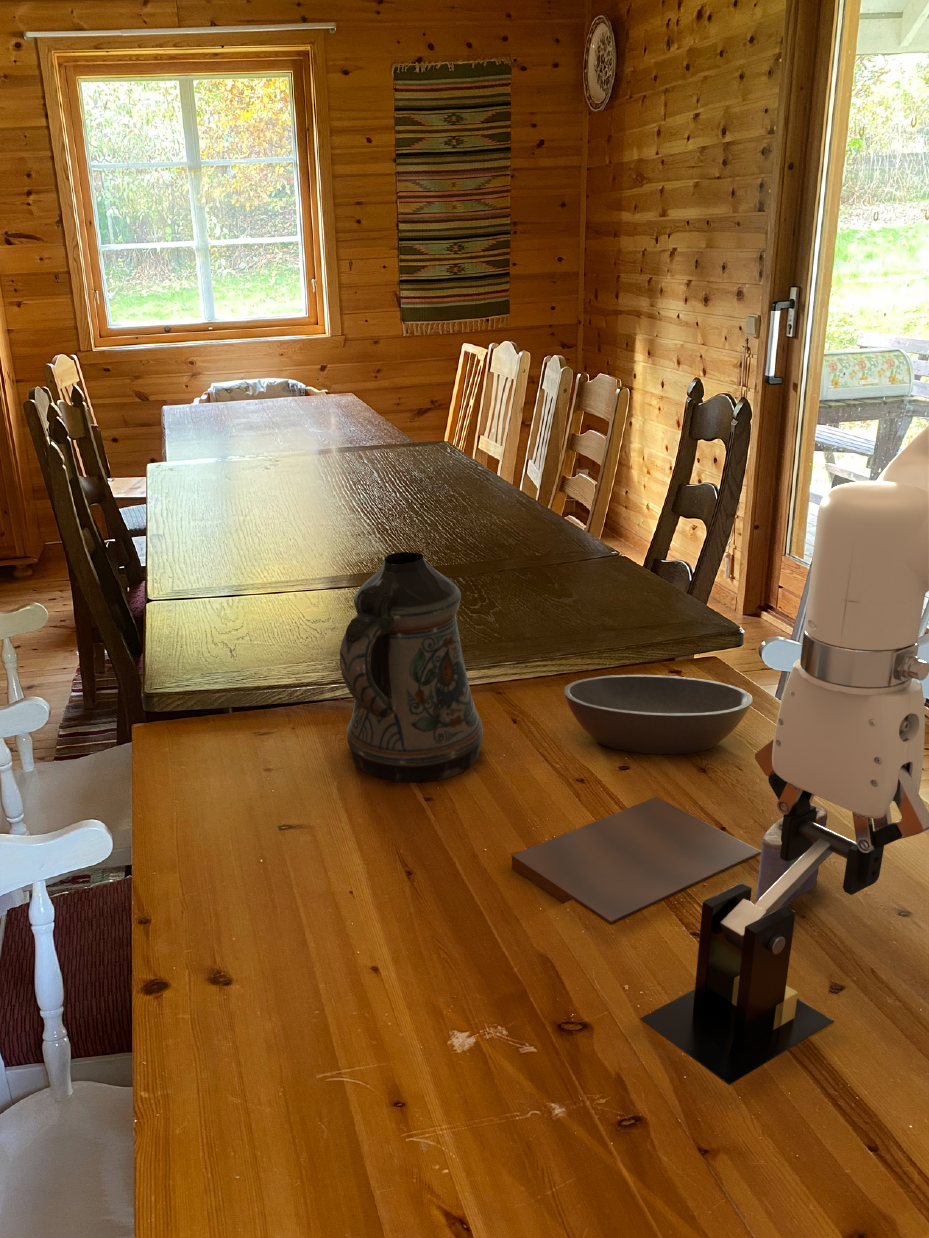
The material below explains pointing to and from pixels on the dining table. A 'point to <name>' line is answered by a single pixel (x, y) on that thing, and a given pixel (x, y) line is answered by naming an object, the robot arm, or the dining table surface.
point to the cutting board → (631, 859)
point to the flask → (781, 861)
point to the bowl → (657, 712)
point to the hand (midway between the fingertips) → (826, 869)
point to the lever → (786, 880)
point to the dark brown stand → (707, 1014)
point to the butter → (787, 1007)
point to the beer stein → (409, 676)
